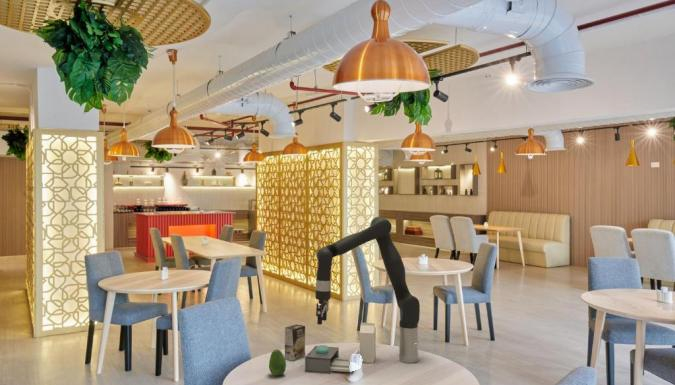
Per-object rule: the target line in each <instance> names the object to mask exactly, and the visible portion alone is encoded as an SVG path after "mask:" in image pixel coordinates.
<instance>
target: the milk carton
mask: <svg viewBox="0 0 675 385" xmlns="http://www.w3.org/2000/svg"><path fill="white" fill-rule="evenodd" d="M376 337H377V332H376V323H374V322H360V328H359V356H360V355H361V356H362V359H363V362H362V363H368V364H374V363H375V360H376V356H377V354H376V353H377V352H376V351H377V350H376V348H377V346H376V342H377V340H376V339H377V338H376Z"/></svg>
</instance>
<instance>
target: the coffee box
mask: <svg viewBox="0 0 675 385" xmlns="http://www.w3.org/2000/svg"><path fill="white" fill-rule="evenodd" d="M305 357H306V326H305V325H303V324H294V325H293V324H292V325H290V326H286V327H284V359H285V360H286V361H287V360H288V361H292V362H295V361H297V360H300V359H303V358H305Z"/></svg>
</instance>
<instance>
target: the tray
mask: <svg viewBox="0 0 675 385" xmlns="http://www.w3.org/2000/svg"><path fill="white" fill-rule="evenodd" d="M353 354H359V355H360V349H356V350H355V351H354V352H353ZM351 358H352V356H351V357H350V358H342V357H341V358H340V357H339V358H334V359H333V360H332V362H331V363H330V370H331V372H332V371H333V372H344V373H349V372H350V371H349V365H350V361H351Z"/></svg>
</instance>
